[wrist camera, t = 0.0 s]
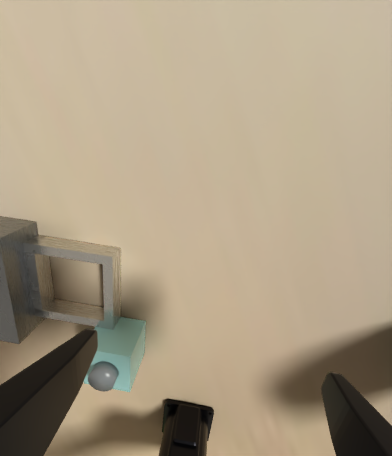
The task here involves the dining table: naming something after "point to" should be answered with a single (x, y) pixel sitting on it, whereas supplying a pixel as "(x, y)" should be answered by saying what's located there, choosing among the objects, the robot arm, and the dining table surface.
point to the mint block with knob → (117, 355)
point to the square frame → (49, 281)
